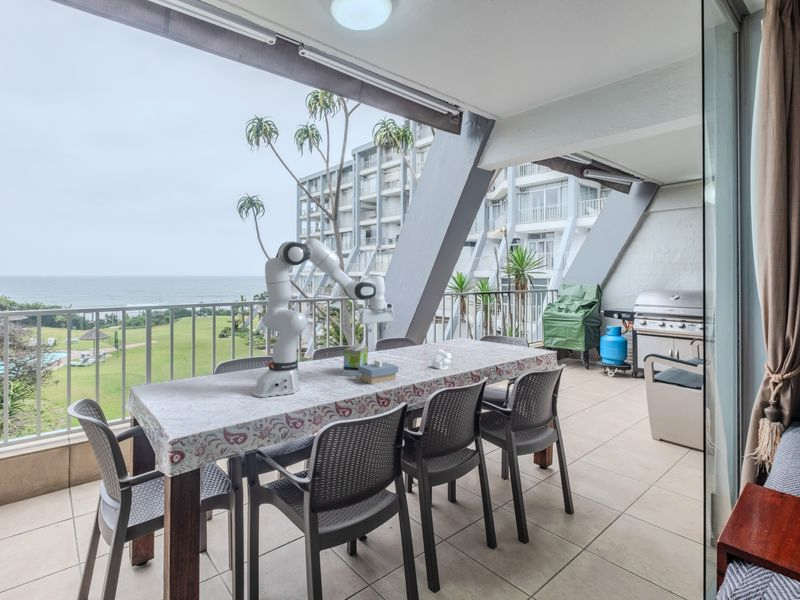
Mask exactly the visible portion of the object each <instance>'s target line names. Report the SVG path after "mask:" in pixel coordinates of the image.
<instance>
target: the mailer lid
mask: <svg viewBox="0 0 800 600" xmlns="http://www.w3.org/2000/svg"><path fill="white" fill-rule="evenodd" d="M358 372H359V373H361V374H364V375H366V376H369V377H377V376H383V375H388V374H394V373H396V374H399V366H398V365H394V364H391V363H388V362H385V361H382V360H380V359H379V360H378V359H374V363H369V364H368V363H367V365H362V366H358Z"/></svg>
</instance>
